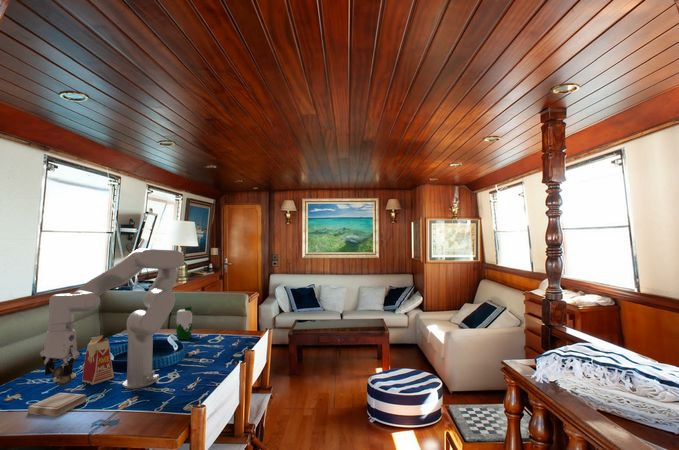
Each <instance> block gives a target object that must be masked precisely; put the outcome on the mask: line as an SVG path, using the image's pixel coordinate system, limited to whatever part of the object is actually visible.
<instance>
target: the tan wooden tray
mask: <svg viewBox="0 0 679 450" xmlns="http://www.w3.org/2000/svg"><path fill="white" fill-rule="evenodd" d="M86 402H87V394H82V393H81V394H80V393H71V392H70V393H67V392H58V393H56V394H54V395H52V396H49V397H47V398H45V399H42V400H40V401H38V402H36V403H34V404H30V405H29V406H27V414H28V415H38V416H39V415H40V416H50V417H59V416H60V415H62V414H64V413H66V412H68V411H70V410H72V409H74V408H75V407H77V406H79V405H81V404H84V403H86Z"/></svg>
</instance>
